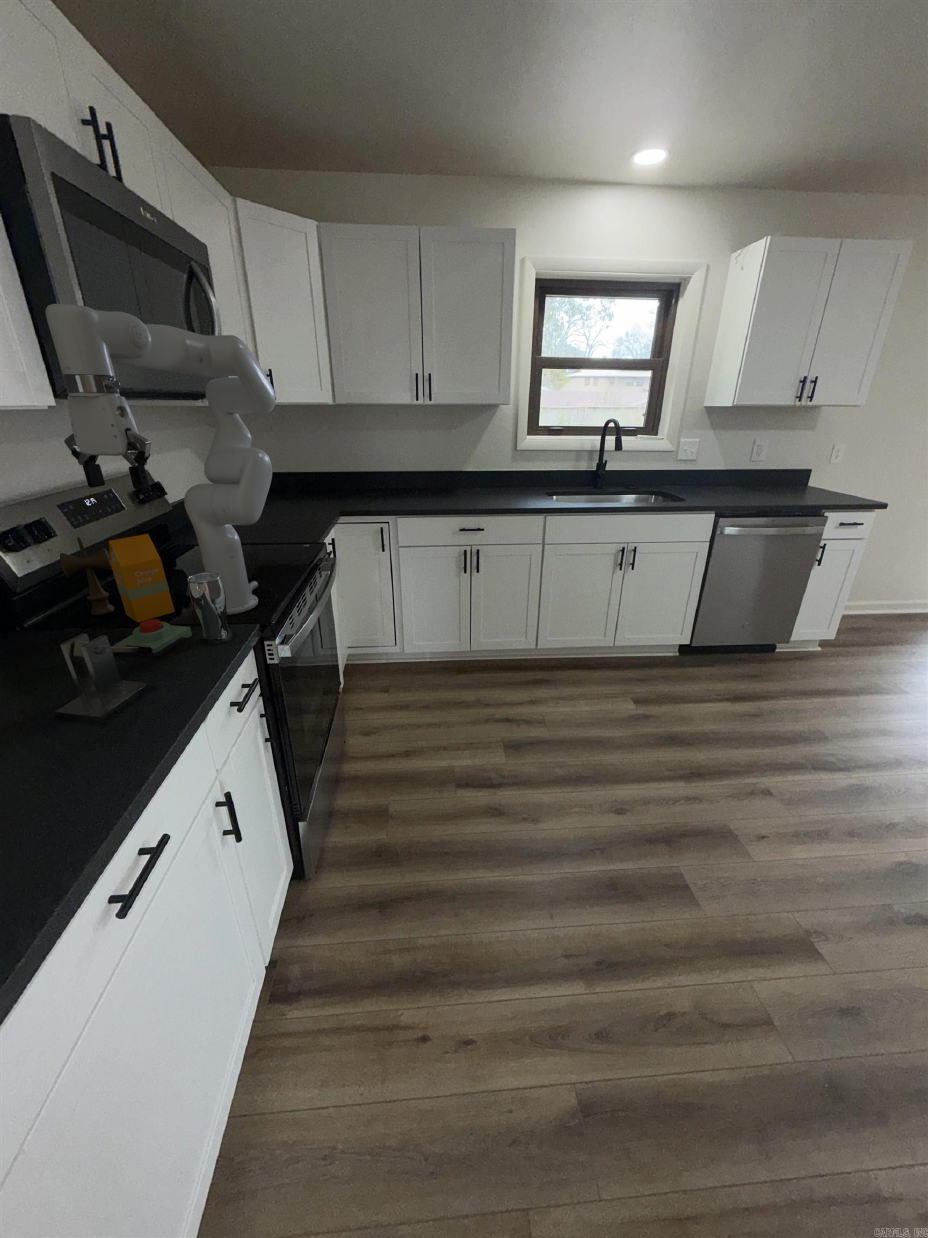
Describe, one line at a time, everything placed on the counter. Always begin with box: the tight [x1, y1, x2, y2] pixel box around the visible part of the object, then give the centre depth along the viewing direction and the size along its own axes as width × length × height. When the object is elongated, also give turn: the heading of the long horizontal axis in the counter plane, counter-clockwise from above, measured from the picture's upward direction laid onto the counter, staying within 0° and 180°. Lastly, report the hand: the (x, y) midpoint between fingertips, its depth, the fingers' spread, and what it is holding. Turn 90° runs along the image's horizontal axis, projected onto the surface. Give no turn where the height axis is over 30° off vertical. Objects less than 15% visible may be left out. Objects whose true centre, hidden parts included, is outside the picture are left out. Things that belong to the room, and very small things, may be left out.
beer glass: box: [186, 571, 233, 642], centre depth 110 cm, size 7×7×15 cm
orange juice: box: [108, 533, 175, 623], centre depth 123 cm, size 8×9×20 cm
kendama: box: [59, 536, 116, 616], centre depth 123 cm, size 6×10×20 cm, turn 124°
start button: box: [138, 618, 162, 633], centre depth 109 cm, size 4×4×2 cm
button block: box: [113, 621, 193, 654], centre depth 110 cm, size 11×10×4 cm
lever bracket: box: [55, 633, 149, 718], centre depth 87 cm, size 11×9×13 cm
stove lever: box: [73, 642, 153, 657], centre depth 91 cm, size 13×5×2 cm, turn 170°
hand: (119, 487), depth 94 cm, fingers open, 9 cm apart
